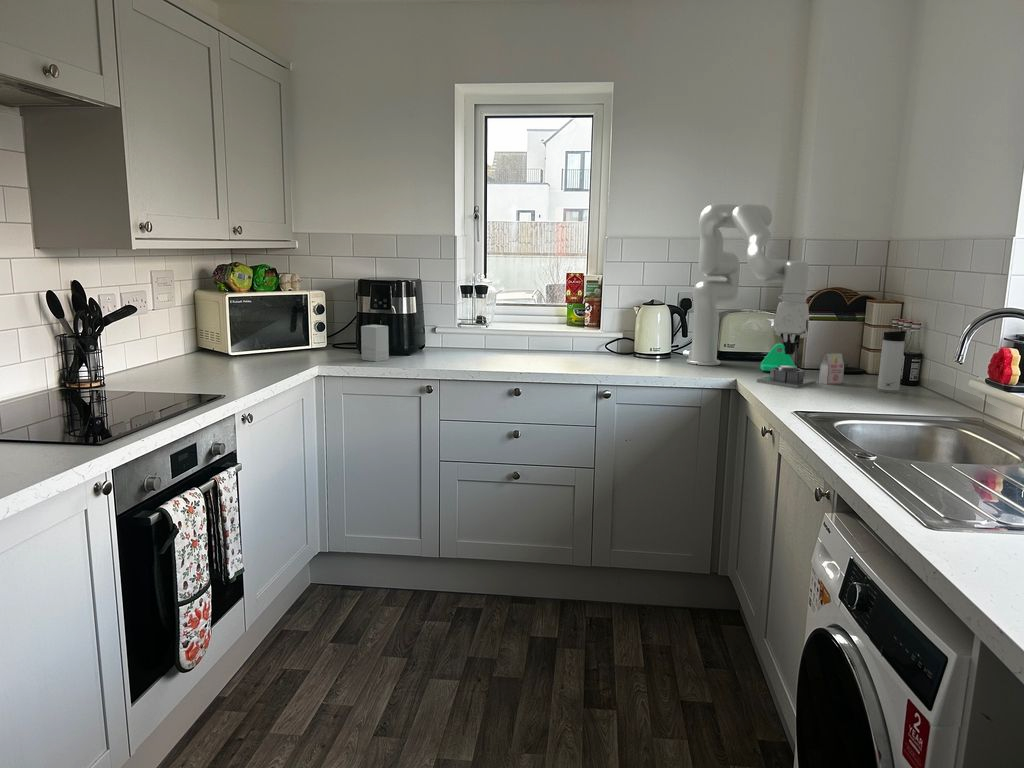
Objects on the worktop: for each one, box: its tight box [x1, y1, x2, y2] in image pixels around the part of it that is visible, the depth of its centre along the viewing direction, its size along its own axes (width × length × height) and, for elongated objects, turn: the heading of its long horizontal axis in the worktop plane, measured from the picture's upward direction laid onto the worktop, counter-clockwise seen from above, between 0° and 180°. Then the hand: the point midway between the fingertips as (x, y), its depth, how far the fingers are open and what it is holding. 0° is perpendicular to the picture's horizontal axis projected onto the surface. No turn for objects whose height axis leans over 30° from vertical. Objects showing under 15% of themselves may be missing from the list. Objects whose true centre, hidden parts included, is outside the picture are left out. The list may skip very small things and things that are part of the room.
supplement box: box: [360, 324, 390, 362], centre depth 284 cm, size 7×7×13 cm
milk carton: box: [818, 353, 845, 385], centre depth 259 cm, size 4×7×10 cm, turn 111°
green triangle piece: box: [759, 342, 797, 372], centre depth 279 cm, size 12×8×10 cm, turn 76°
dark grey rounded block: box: [778, 365, 798, 371], centre depth 258 cm, size 6×6×4 cm
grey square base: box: [756, 367, 817, 389], centre depth 258 cm, size 14×14×4 cm
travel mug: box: [876, 330, 907, 394], centre depth 244 cm, size 6×7×20 cm
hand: (789, 353), depth 256 cm, fingers closed
